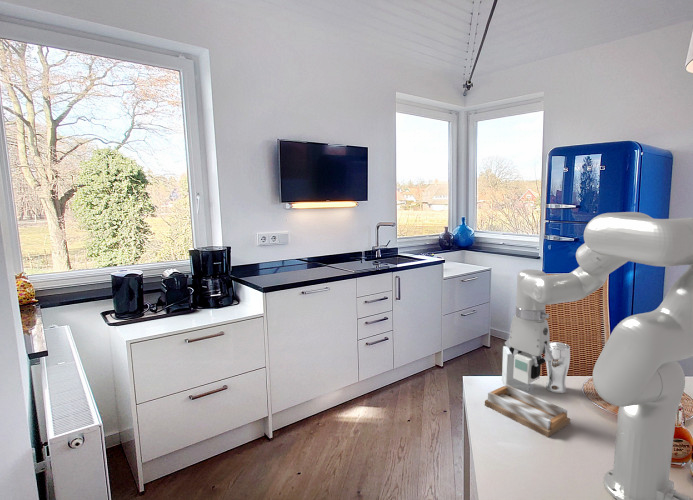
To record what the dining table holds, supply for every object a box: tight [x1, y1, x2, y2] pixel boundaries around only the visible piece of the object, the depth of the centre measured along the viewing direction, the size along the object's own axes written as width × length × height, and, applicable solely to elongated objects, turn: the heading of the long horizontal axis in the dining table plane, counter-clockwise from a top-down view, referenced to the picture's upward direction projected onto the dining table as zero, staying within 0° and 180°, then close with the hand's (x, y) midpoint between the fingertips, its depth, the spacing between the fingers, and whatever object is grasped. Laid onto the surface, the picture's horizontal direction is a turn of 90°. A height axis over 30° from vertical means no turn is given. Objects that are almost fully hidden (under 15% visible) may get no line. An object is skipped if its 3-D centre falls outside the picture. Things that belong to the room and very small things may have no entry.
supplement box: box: [501, 345, 530, 393], centre depth 134 cm, size 7×7×13 cm
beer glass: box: [545, 341, 571, 394], centre depth 131 cm, size 7×7×15 cm
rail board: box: [484, 385, 571, 438], centre depth 117 cm, size 20×11×4 cm, turn 34°
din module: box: [513, 352, 541, 385], centre depth 116 cm, size 4×6×7 cm
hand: (526, 373), depth 116 cm, fingers closed on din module, 4 cm apart
